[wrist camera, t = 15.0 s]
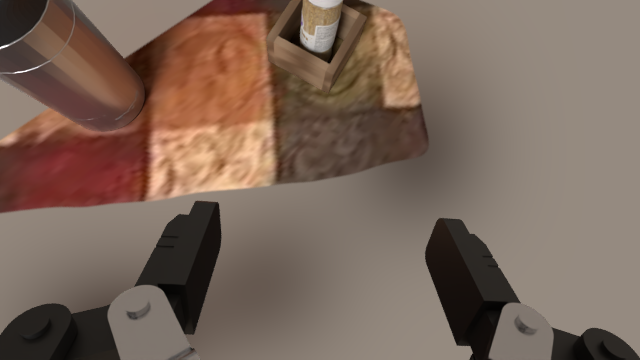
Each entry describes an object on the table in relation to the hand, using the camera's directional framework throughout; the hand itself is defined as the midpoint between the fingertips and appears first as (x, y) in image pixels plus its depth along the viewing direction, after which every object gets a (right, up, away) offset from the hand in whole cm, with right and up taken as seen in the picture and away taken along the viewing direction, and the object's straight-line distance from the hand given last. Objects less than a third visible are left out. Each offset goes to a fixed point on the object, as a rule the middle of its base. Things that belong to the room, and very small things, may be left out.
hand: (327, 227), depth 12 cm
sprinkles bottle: (-1, +19, +33) cm, 38 cm away
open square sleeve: (-1, +19, +33) cm, 38 cm away
